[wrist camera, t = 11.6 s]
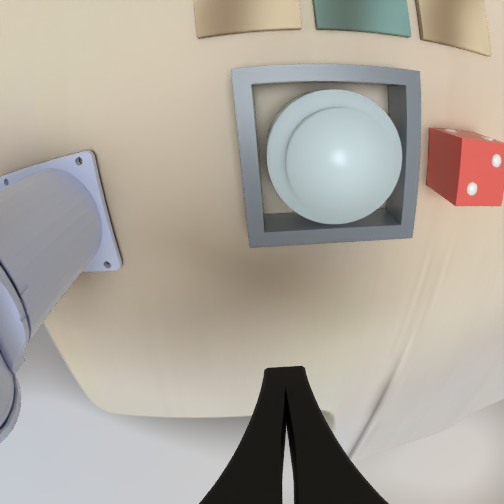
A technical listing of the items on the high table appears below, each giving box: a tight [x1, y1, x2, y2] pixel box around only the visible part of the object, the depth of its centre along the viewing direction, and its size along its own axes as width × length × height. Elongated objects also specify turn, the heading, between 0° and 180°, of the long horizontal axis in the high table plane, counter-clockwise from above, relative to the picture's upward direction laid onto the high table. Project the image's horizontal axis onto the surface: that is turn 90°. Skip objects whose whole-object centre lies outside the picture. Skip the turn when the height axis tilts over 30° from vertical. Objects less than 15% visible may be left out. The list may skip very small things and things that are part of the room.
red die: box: [426, 127, 504, 206], centre depth 14 cm, size 4×4×4 cm
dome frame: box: [231, 64, 421, 248], centre depth 15 cm, size 9×9×2 cm
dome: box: [267, 89, 402, 224], centre depth 14 cm, size 6×6×4 cm
